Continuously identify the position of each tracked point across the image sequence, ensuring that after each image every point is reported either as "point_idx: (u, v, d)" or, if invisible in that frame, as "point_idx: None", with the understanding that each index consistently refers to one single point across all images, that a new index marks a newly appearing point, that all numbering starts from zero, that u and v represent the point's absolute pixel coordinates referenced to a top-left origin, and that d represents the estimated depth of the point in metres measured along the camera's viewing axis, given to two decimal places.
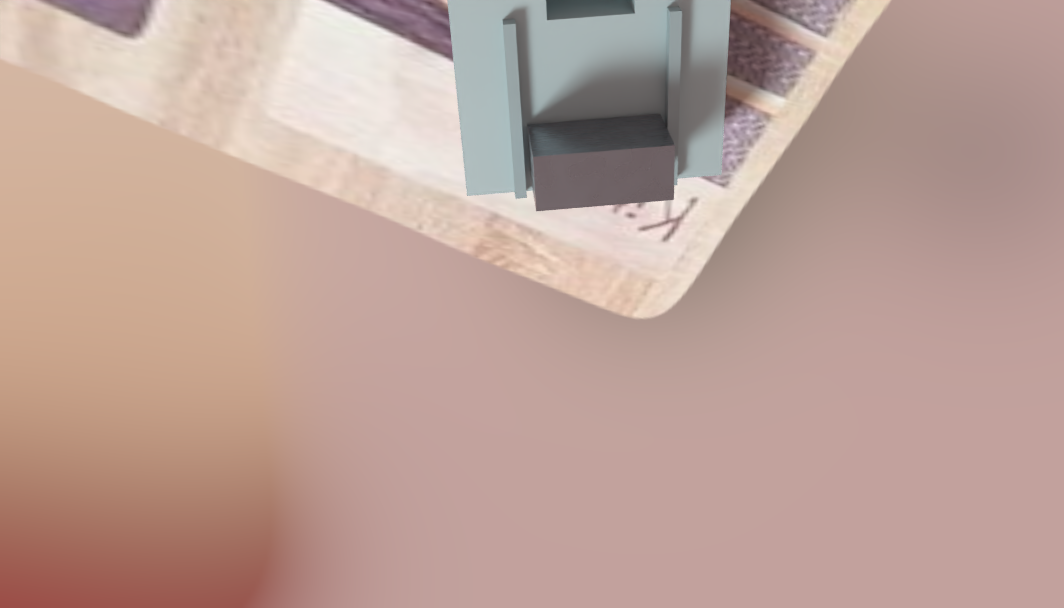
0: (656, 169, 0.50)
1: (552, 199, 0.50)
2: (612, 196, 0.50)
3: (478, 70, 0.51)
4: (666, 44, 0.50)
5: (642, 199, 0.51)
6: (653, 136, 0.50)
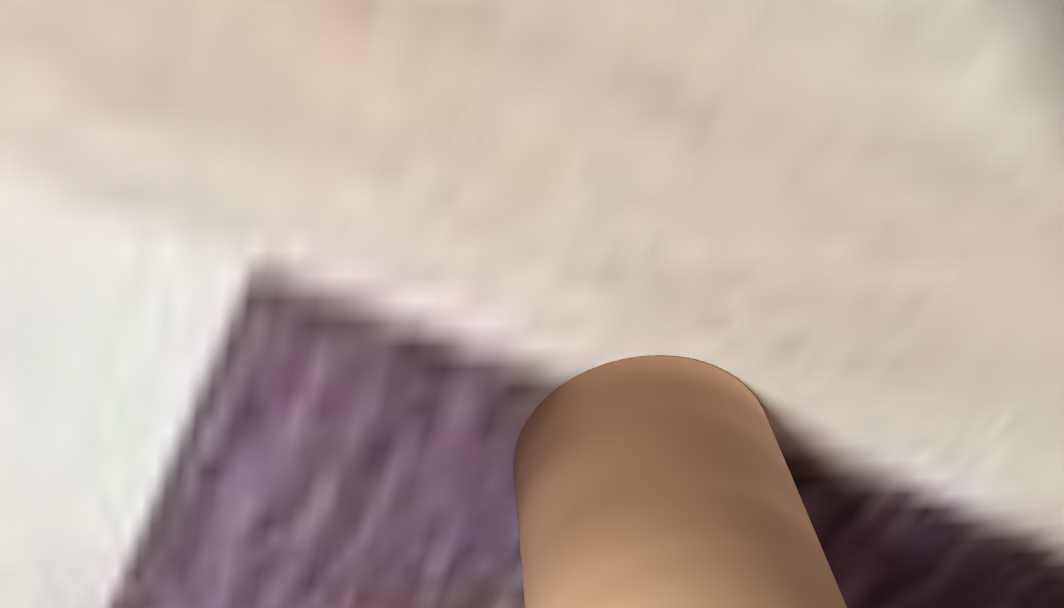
0: None
1: None
2: None
3: None
4: None
5: None
6: None
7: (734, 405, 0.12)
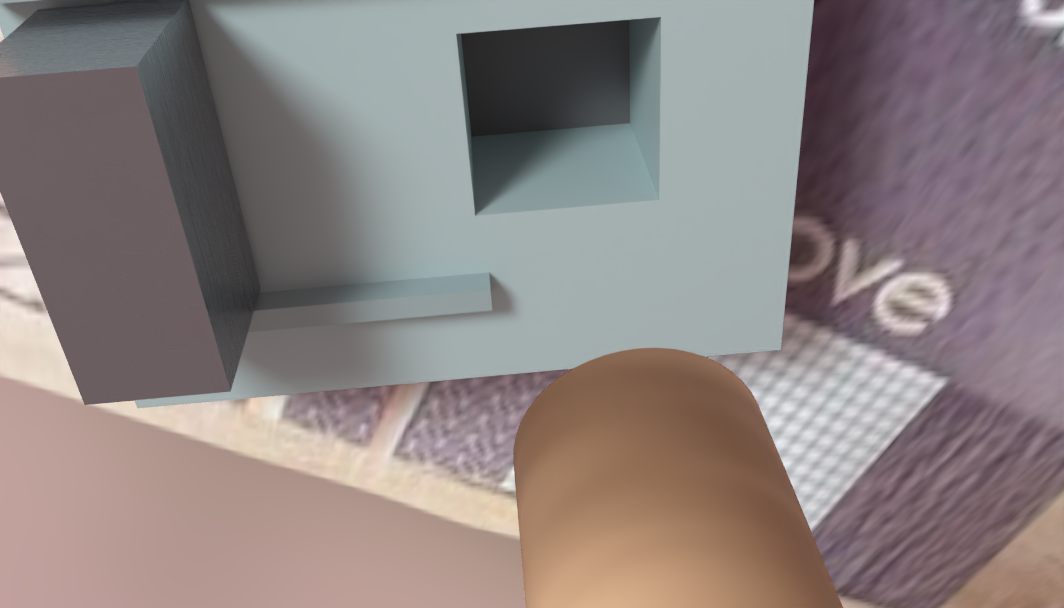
0: (160, 362, 0.20)
1: (9, 125, 0.17)
2: (58, 274, 0.19)
3: None
4: (414, 281, 0.24)
5: (68, 341, 0.20)
6: (231, 325, 0.21)
7: (727, 395, 0.12)
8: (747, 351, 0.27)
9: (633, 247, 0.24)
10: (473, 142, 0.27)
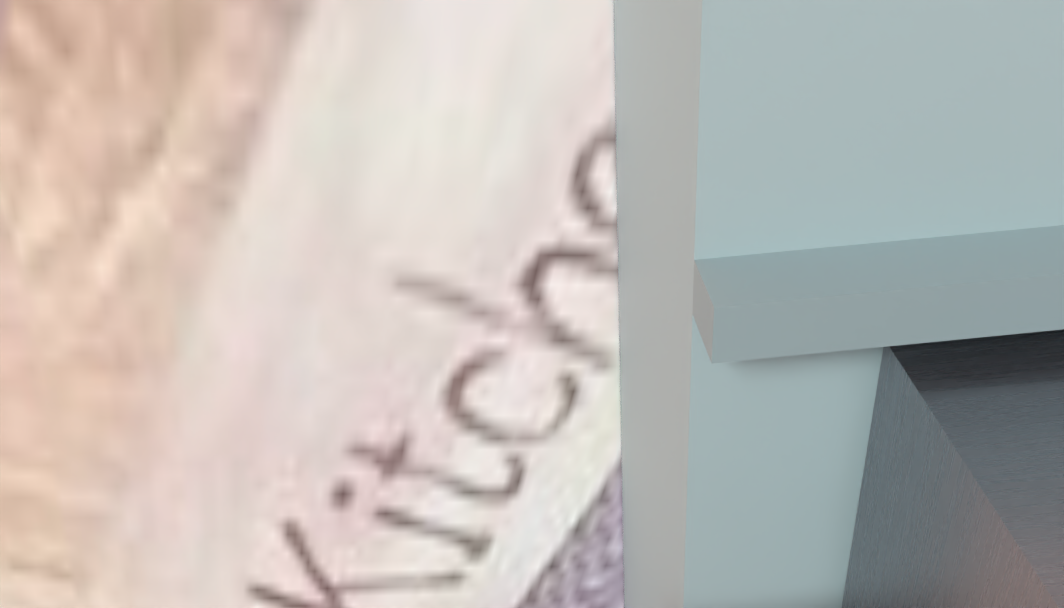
0: None
1: None
2: None
3: None
4: None
5: None
6: None
7: None
8: None
9: None
10: None
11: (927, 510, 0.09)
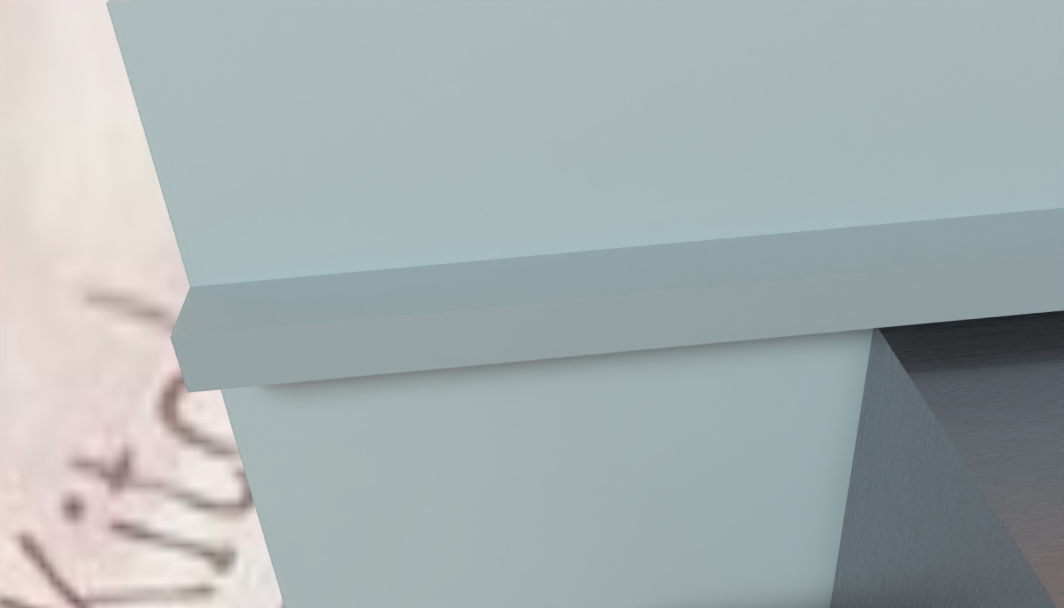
0: None
1: None
2: None
3: (972, 74, 0.09)
4: None
5: None
6: None
7: None
8: None
9: None
10: None
11: (916, 490, 0.09)
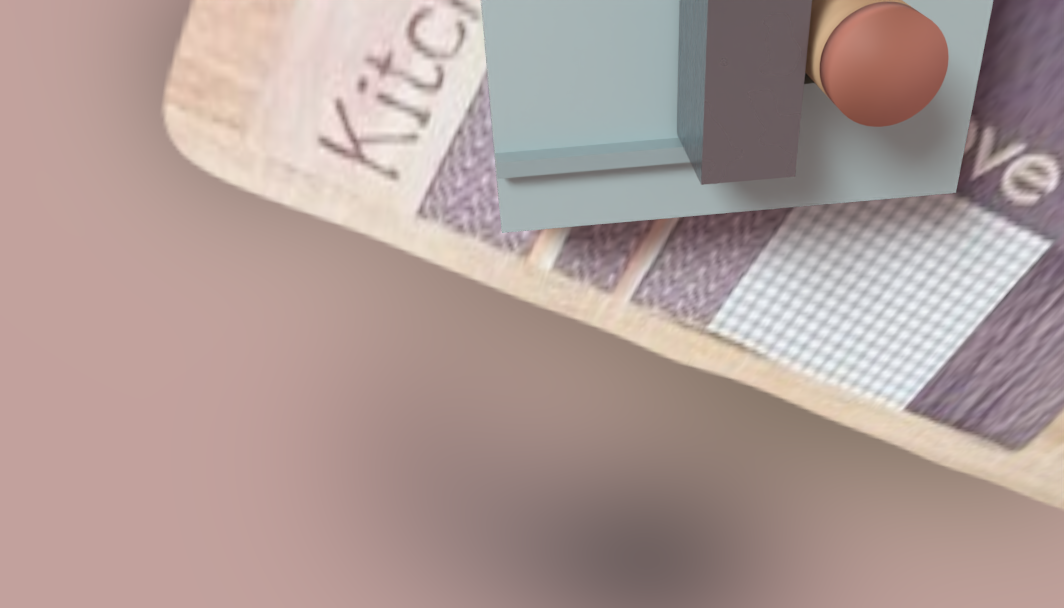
0: (759, 154, 0.31)
1: None
2: (719, 89, 0.30)
3: None
4: None
5: (708, 137, 0.31)
6: None
7: None
8: (932, 194, 0.37)
9: None
10: None
11: None
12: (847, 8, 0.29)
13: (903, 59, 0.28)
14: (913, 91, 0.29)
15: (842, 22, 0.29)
